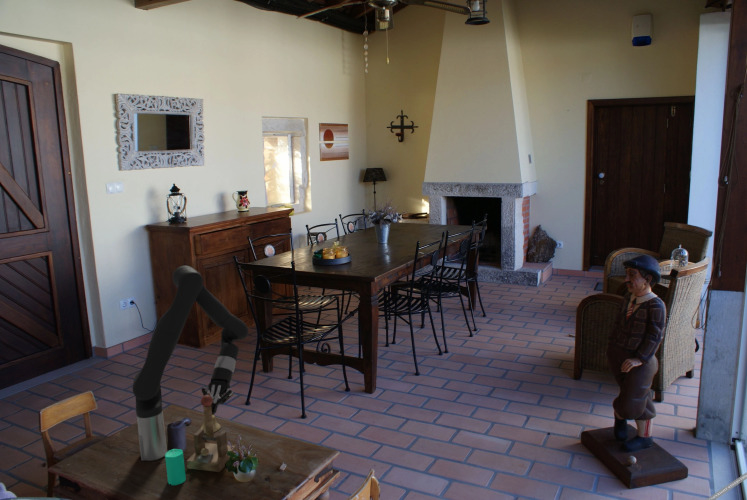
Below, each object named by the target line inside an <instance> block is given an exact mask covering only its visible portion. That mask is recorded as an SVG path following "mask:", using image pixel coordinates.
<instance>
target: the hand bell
mask: <svg viewBox="0 0 747 500" xmlns="http://www.w3.org/2000/svg"><path fill="white" fill-rule="evenodd" d="M208 394H209V395H210V394H211V393H210V392H209V393H208ZM212 419H213V429H214V433H216V432H218V431H220V429H221V427H222V425H221V424H220V423H218V421H217V420H216V416H215V414H214V415H212ZM200 429H203V430H204V434H206V429H205V419H204V418H203V422H202V425H201V427H200Z"/></svg>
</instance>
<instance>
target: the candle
mask: <svg viewBox="0 0 747 500" xmlns="http://www.w3.org/2000/svg"><path fill="white" fill-rule="evenodd" d="M164 461H165V467H166V468H165V469H166V476H167V483H168V485H170V484H171V486H178V485H180V484H183V483H185V481H186V480H187V476H186V465H185V458H184V451H183V449H180V448H173V449H169V450H167V453H166V454H165V456H164Z"/></svg>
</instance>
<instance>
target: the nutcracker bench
mask: <svg viewBox="0 0 747 500" xmlns="http://www.w3.org/2000/svg"><path fill="white" fill-rule="evenodd" d="M202 436H205V433H204V430H203V429H198V430H197V431H196V432H195V433H194V434H193V442H194V443H193V444H194V453H193V454H191V456H190V457H189V458H188V459H187V460H186V467H187V469H188V470H198V471H206V472H207V471H208V472H217V473H220V472H221V471H222V470H223V469H224V468H225V467H226V466H225V463H226V461H227V460H229V457H228V455H227V451H236V452H237V445H234V444H233V445H232V444H231V445H232V447H233V449H231V447H230V446H229V445H230V444H228V440H227V439H228V438H227V431H224V430H223V431H220V433H219V434H217V436H215V437H216V439H217V441H216V443H210V442H206V440H202Z"/></svg>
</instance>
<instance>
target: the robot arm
mask: <svg viewBox="0 0 747 500" xmlns="http://www.w3.org/2000/svg"><path fill="white" fill-rule="evenodd" d="M172 282H173V284H174V286H175V287H176V288H177V290H176V293H175V296H174V299H173V301H172V303H171V305H170V306H169V308H168V309H167V310H166V311H165V312H164V314H162V315H161V317H160V318H159V320H158V322H157V323H156V326H155V328H154V330H153V334H152V336H151V337H150V342H149V345H148V348H147V353H146V354H147V355H146V358H145V361H144V363H143V365H142V368H141V370H140V371H138V372H137V373H136V374H135V376H134V379H133V383H132V392H133V395H134V396H135V398H134V399H135V413H136V420H137V421H136V422H137V430H138V431H137V432H138V442H139V443H138V444H139V451H140V452H139V453H140V458H141V462H142V461H150V462H151V461H157V460H160V459H162V458H163V457H165V454H166V453H167V452H168V447H167V436H166V429H165V420H164V412H163V395H162V387H161V383H162V378H163V376H164V375H163V374H164V371H165V370H166V369H165V368H166V366H167V364H168V362H169V361H170V359H171V357H172V354H174V350H175V348H176V346H177V344H178V342H179V339H180V337H181V335H182V332H183V329H184V327H185V324H186V321H187V319H188V318H189V315H190V312H191V309H192V308H193V305H194V304H195V303H197V304H198V306H199V307H200V308H201V309H202V310H203V312H204V313H205V314H206V316H207V317H208V318H209V319H210V320H211V321H212V322H213V323H214V324H215V325H216V326H217V327H218V328H221V333H220V335H221V336H220V351H219V354H218V357H217V359H216V361H215V365H214V368H213V371H212V374H211V378H210V382H209V383H208V386H206V387H202V388H201V393H202V394H203V395H202V396H204V395H209V394H210V396H211V397H212V399H213V402H212V404H211V408H212V415H214V416H215V414H216V413H217V410H218V406H219V405H224V404H225V403H226V402H227V401H228V400H229V399H231V397H232V396H234V394H235V392H234V391H233V390H231V382H232V379H233V375H234V372H235V368H236V363H237V358H238V356H239V351H240V348H239V347H238V345H236V344H234V342H235V341H243V340H245V339H246V338H247V337H248V336H249V328H248V326H247V324H246V323H245V322H244V321H243V320H242V319H241V318H238V317H237V316H236V315H234V314H232V313H231V312H230V311H229V309H228V308H227V307H226V306H225V305H224V304H223V303H222V302H221V301H220V300H219V299H218V298H217V297H216V296H214V294H213V293H211V292H210V291H209V290H208V289H207V288H206V286H205V284H204V278H203V275H202V274H201V273H200V272H199V271H198V270H196V269H195V268H193V267H192V266H189V265H181V266H178V267H176V269H175V270H174V271H173V273H172ZM208 393H209V394H208Z"/></svg>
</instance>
